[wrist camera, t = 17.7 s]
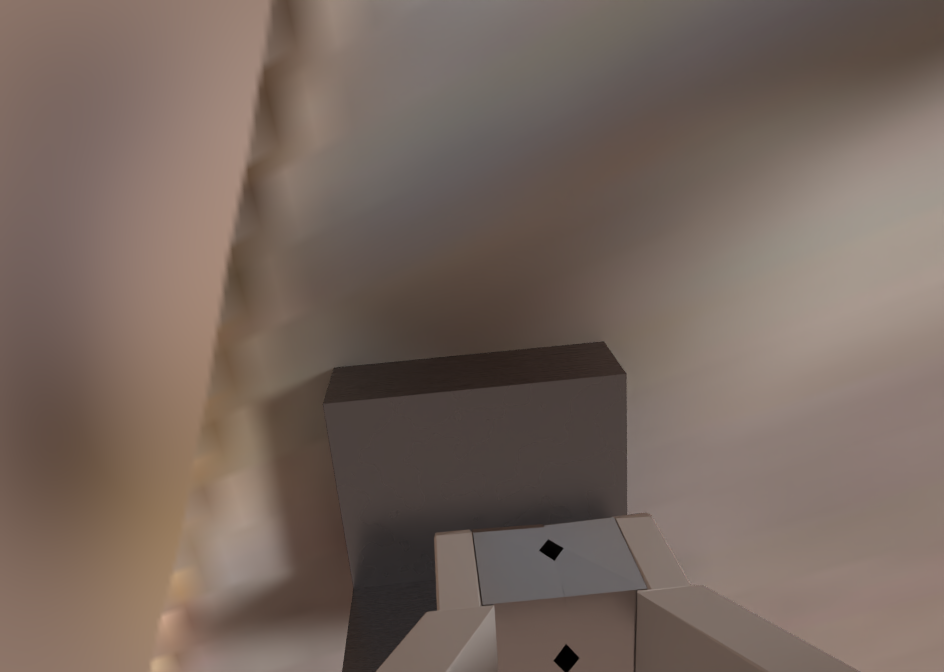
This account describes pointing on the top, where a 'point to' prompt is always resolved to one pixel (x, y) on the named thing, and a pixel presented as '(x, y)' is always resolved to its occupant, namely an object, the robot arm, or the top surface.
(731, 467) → the top surface
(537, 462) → the metal bookend
